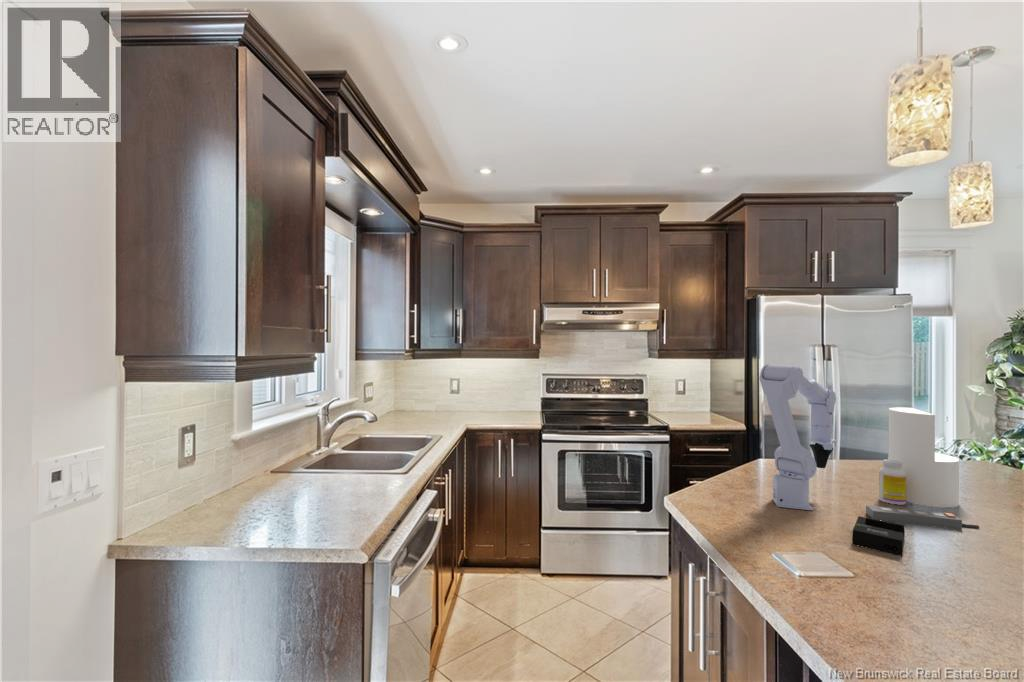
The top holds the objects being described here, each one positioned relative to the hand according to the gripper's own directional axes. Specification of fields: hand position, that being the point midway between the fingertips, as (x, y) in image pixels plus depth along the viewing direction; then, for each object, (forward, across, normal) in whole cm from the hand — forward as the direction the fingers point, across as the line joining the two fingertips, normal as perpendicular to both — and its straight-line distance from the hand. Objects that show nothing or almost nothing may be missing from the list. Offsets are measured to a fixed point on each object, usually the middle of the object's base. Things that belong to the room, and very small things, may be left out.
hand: (820, 467), depth 152 cm
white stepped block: (+10, +10, -31) cm, 34 cm away
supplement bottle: (+10, +2, -20) cm, 22 cm away
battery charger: (+10, -35, -3) cm, 37 cm away
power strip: (+9, -15, -20) cm, 27 cm away
